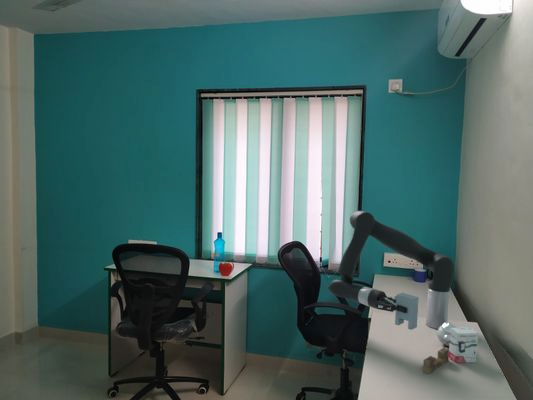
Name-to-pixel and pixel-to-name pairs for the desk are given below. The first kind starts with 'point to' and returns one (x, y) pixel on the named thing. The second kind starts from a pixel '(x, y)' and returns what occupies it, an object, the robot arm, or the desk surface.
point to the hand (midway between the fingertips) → (409, 309)
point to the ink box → (463, 345)
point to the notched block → (412, 310)
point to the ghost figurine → (445, 333)
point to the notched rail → (435, 361)
